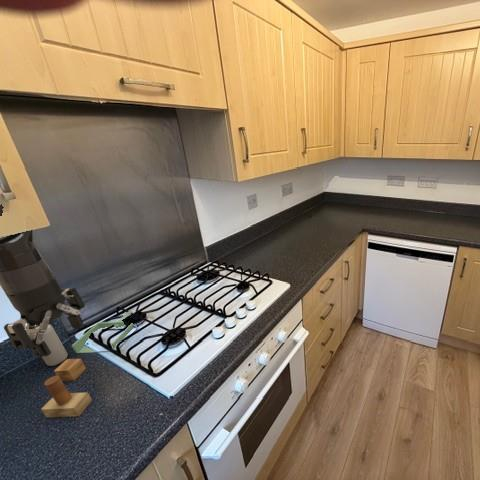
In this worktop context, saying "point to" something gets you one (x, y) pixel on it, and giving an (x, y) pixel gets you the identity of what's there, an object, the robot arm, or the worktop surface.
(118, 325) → the pale green curved piece
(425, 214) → the worktop surface
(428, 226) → the worktop surface
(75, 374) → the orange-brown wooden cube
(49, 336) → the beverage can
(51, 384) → the wooden t-shaped piece
